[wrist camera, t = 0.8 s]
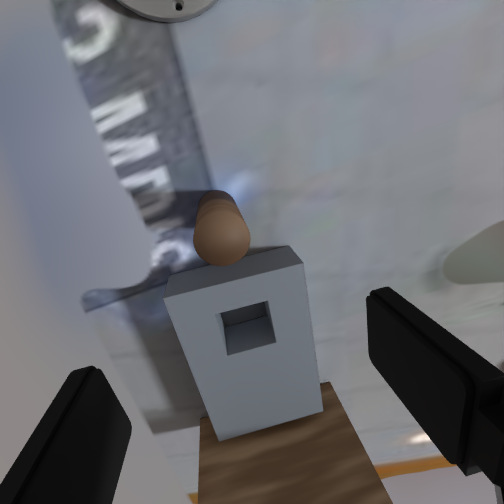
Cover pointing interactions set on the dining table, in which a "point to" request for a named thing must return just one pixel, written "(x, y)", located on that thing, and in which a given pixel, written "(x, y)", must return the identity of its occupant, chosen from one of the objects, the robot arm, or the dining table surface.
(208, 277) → the socket block
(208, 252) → the peg
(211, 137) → the dining table surface
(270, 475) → the glass-topped wooden stand
